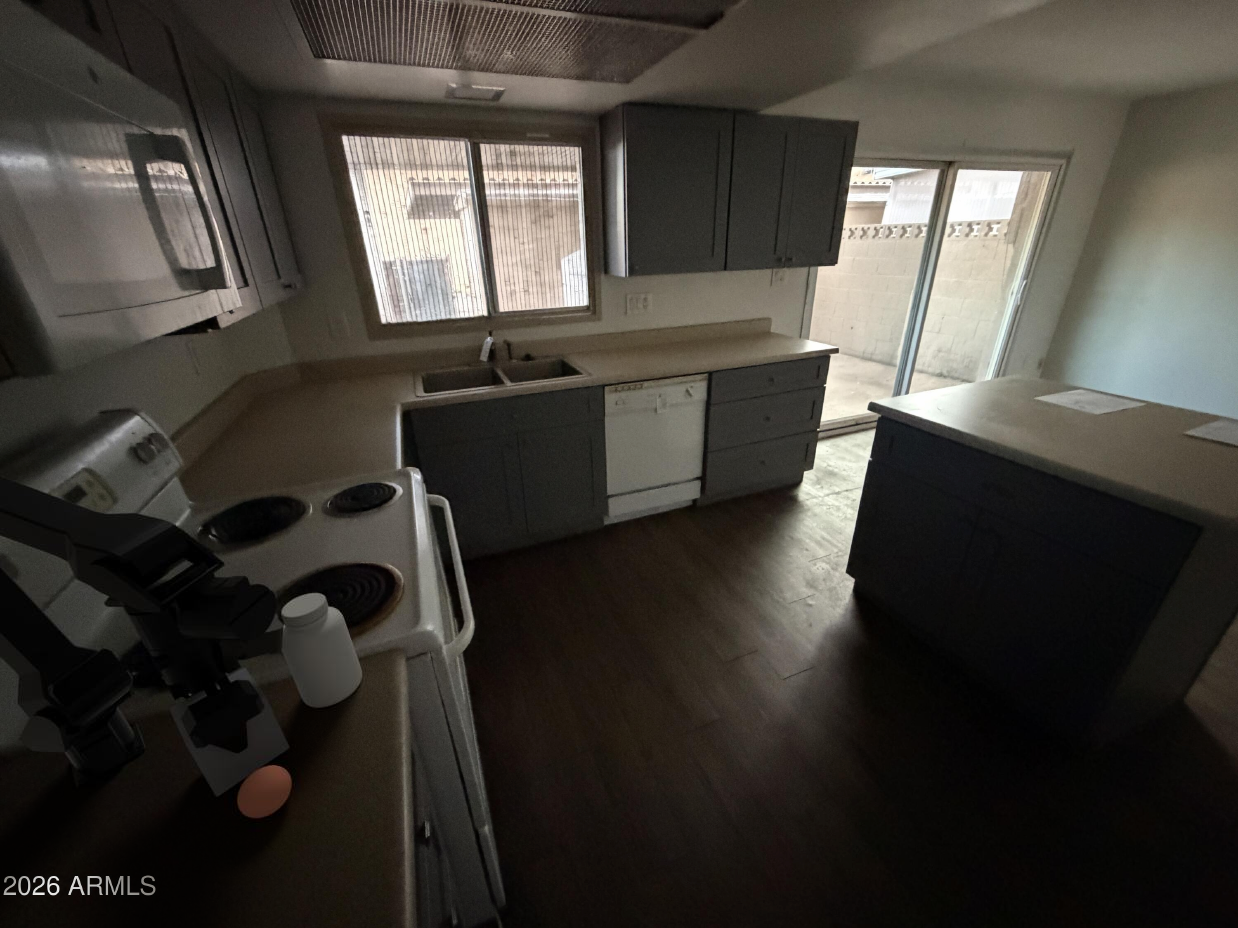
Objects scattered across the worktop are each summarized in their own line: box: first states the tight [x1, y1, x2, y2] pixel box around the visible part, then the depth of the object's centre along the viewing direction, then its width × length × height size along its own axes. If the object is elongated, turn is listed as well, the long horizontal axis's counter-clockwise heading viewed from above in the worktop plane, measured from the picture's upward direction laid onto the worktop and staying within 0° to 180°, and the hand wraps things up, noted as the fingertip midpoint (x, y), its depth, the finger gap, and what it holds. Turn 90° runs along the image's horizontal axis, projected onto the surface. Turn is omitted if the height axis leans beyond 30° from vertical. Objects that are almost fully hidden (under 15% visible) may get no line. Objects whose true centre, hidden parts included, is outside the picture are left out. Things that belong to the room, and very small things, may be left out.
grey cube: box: [169, 667, 290, 798], centre depth 60 cm, size 8×8×9 cm
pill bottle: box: [280, 592, 363, 709], centre depth 70 cm, size 8×8×15 cm
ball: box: [236, 765, 292, 819], centre depth 56 cm, size 5×5×5 cm
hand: (231, 731), depth 60 cm, fingers closed on grey cube, 8 cm apart
